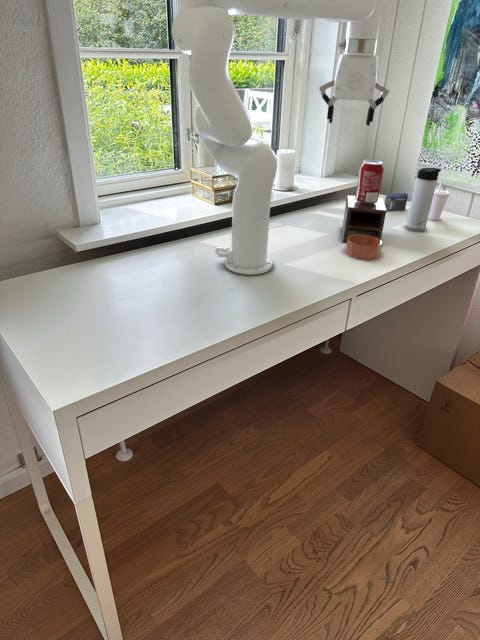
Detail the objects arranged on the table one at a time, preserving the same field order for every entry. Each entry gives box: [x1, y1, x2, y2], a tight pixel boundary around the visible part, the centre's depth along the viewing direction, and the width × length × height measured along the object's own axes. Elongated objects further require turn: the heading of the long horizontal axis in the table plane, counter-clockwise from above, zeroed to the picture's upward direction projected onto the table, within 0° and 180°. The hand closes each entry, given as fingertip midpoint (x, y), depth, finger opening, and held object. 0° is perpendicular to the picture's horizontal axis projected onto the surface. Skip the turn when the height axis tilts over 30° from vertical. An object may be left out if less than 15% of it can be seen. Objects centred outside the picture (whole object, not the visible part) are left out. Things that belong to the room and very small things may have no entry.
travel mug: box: [405, 167, 442, 233], centre depth 152 cm, size 6×7×20 cm
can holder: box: [345, 233, 383, 261], centre depth 136 cm, size 10×10×4 cm
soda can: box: [354, 159, 385, 205], centre depth 140 cm, size 7×7×12 cm
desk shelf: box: [341, 194, 387, 244], centre depth 146 cm, size 11×13×11 cm
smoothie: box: [428, 178, 451, 221], centre depth 164 cm, size 6×6×14 cm
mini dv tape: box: [384, 192, 409, 212], centre depth 174 cm, size 8×2×6 cm, turn 103°
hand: (348, 123), depth 123 cm, fingers open, 9 cm apart
